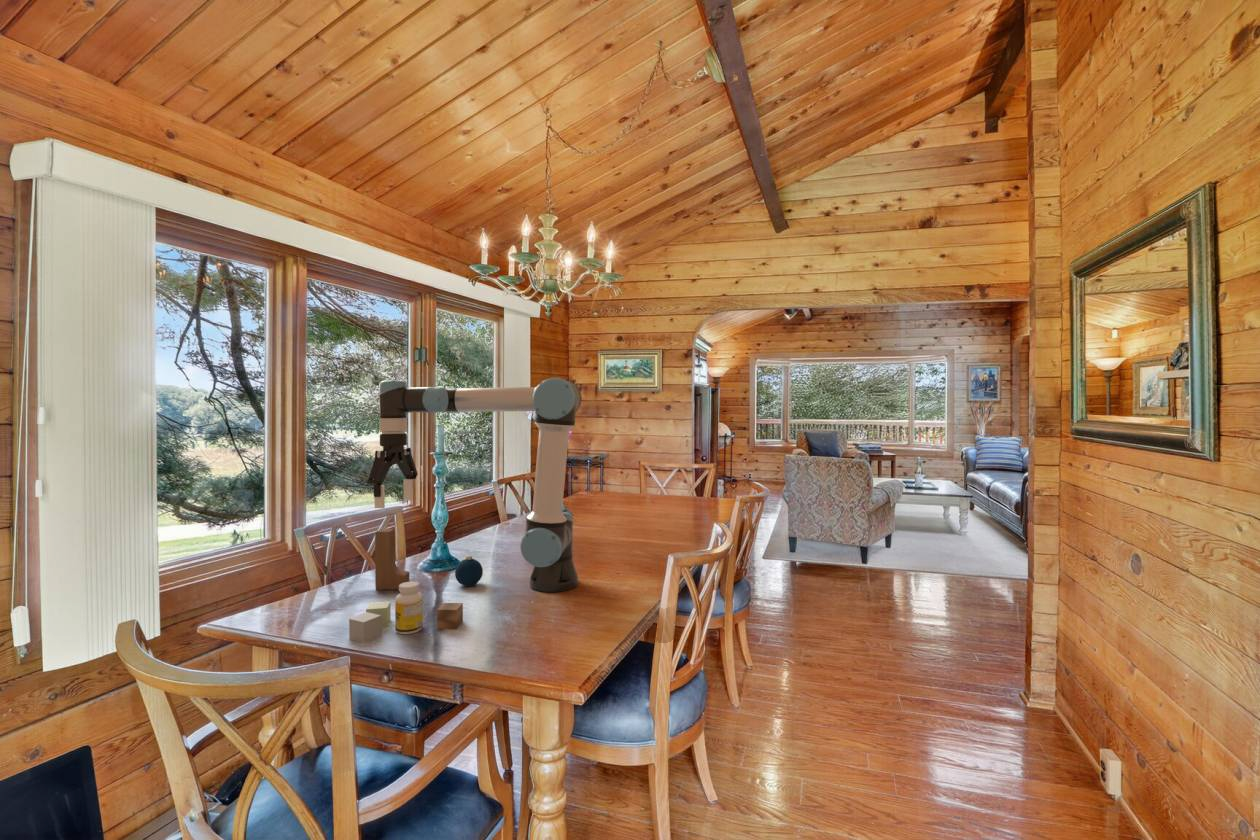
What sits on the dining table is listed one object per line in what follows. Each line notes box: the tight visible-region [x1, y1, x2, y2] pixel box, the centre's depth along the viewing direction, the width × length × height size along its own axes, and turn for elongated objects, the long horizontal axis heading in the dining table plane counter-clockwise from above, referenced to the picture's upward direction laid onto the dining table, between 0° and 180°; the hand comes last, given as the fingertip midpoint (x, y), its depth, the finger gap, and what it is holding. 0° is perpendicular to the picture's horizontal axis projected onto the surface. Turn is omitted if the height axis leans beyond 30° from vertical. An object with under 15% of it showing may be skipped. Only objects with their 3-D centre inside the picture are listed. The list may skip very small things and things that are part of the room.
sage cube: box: [365, 600, 392, 628], centre depth 147 cm, size 5×5×5 cm
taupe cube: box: [348, 611, 382, 643], centre depth 139 cm, size 5×5×5 cm
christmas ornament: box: [454, 554, 484, 587], centre depth 179 cm, size 8×8×10 cm
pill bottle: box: [394, 581, 424, 635], centre depth 143 cm, size 6×6×12 cm
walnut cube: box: [436, 602, 464, 630], centre depth 146 cm, size 5×5×5 cm
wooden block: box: [374, 528, 410, 591], centre depth 176 cm, size 9×4×18 cm, turn 92°
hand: (394, 504), depth 169 cm, fingers open, 13 cm apart
